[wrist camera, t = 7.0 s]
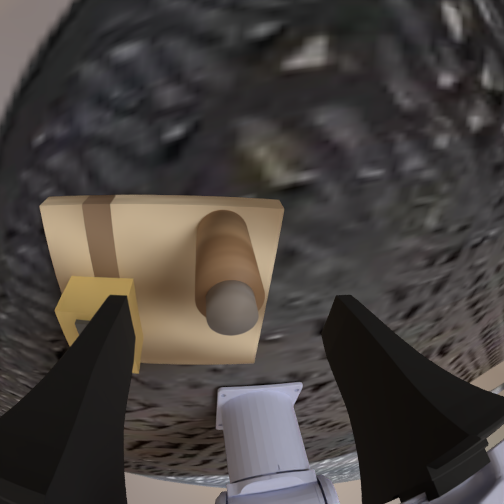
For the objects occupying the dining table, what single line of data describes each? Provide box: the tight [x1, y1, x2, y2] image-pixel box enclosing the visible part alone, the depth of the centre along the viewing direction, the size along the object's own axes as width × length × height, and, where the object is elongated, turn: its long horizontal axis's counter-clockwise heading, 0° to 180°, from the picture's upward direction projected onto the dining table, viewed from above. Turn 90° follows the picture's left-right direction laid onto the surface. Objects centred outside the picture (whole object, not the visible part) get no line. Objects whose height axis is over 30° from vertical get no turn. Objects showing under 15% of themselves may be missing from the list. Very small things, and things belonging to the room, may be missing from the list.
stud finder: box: [55, 276, 144, 373], centre depth 15 cm, size 5×4×3 cm
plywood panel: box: [40, 195, 284, 364], centre depth 17 cm, size 12×13×1 cm
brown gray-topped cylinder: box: [195, 210, 265, 336], centre depth 12 cm, size 3×3×6 cm
